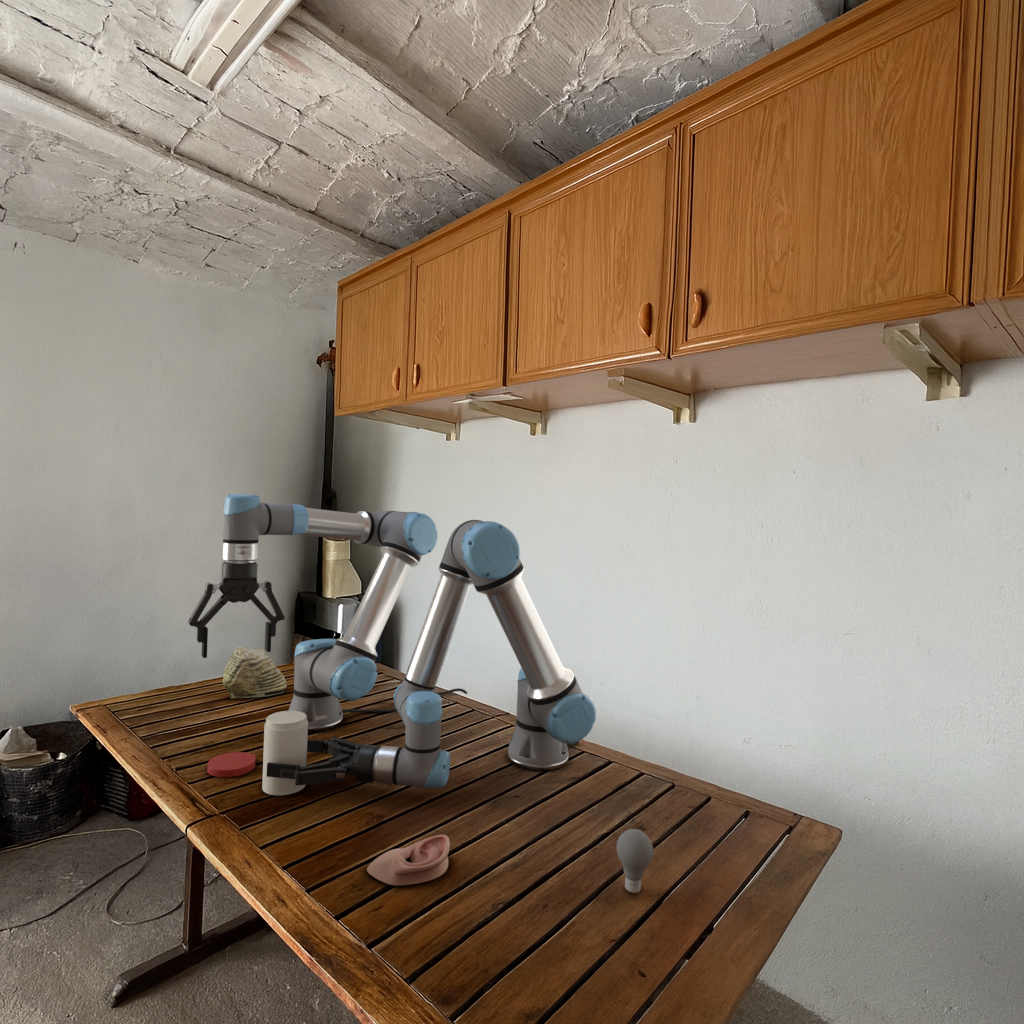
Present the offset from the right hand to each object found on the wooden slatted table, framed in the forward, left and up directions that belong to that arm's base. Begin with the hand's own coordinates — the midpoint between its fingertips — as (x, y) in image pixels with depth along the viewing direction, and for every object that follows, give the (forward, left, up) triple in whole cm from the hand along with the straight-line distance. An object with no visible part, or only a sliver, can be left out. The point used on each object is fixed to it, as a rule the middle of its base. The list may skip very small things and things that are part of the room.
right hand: (282, 756), depth 138 cm
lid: (+11, -12, -5) cm, 17 cm away
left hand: (+11, -12, +20) cm, 26 cm away
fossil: (+7, -67, -6) cm, 67 cm away
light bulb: (-55, +55, -6) cm, 78 cm away
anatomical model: (-21, +38, -6) cm, 44 cm away
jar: (-1, 0, -6) cm, 6 cm away
